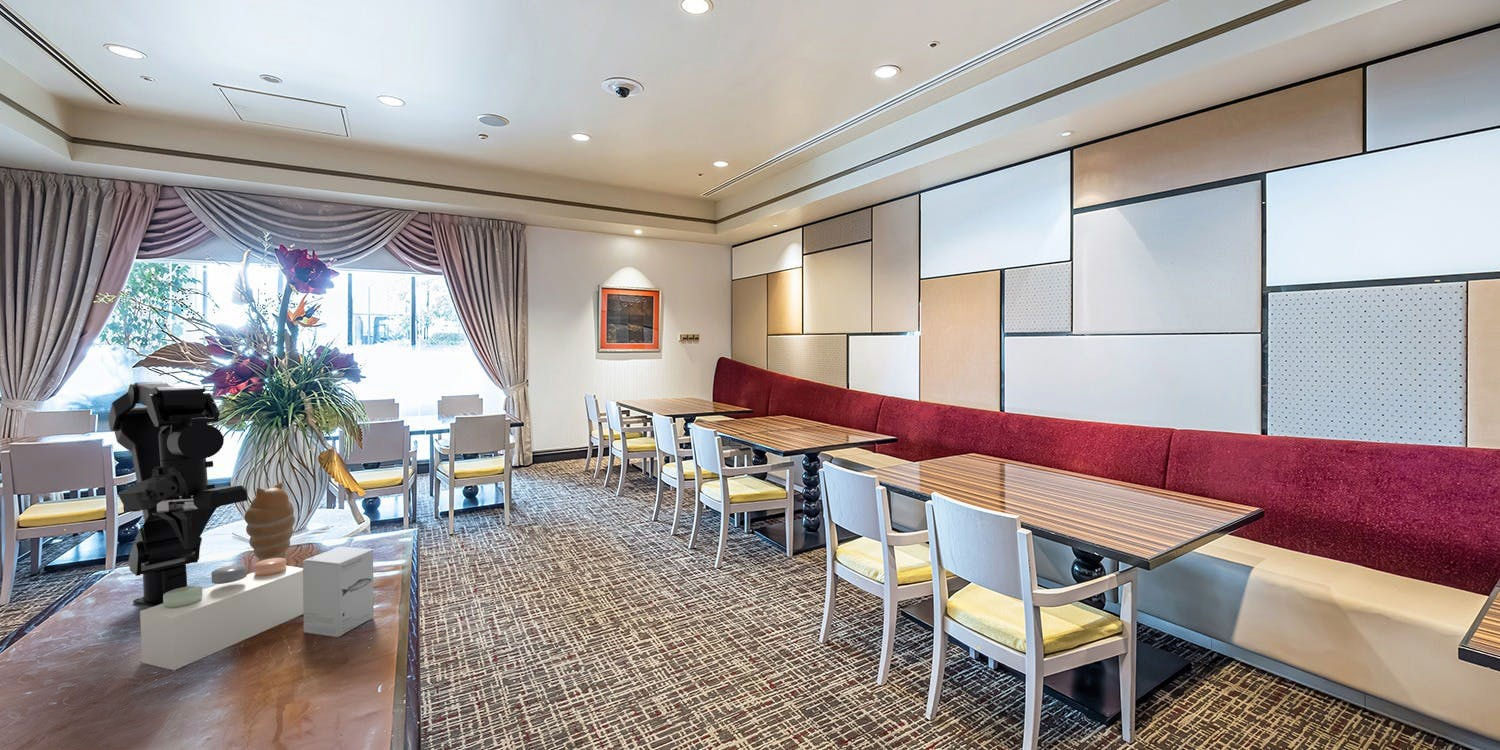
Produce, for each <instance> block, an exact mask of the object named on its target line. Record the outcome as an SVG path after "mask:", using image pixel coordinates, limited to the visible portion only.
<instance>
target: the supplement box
mask: <svg viewBox="0 0 1500 750" xmlns="http://www.w3.org/2000/svg"><path fill="white" fill-rule="evenodd" d="M302 568H303V612H304V614H303V633H306V634H311V635H319V636H327V637H334V638H339V637H341V636H342V635H345V634H346V633H347V632H349V631H352V630H353V629H355V628H357V627H358V626H360V625H362V624H364V623H366V622H368V621H370V620H372V619H373V618H374V613H375V612H374V605H375V604H374V602H375V601H374V549H372V548H371V549H370V548H361V547H347V546H337V547H335V548H333V549H331V550H327V551H325V552H321V553H319V554H317V555H314V556H311V557H308V558H307V559H303V560H302Z"/></svg>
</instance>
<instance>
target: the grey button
mask: <svg viewBox="0 0 1500 750" xmlns="http://www.w3.org/2000/svg"><path fill="white" fill-rule="evenodd" d="M247 568H248V567H247V565H246V564H232V565H228V566H227V565H226V566H221V567H220V568H216V569H214V570H212V571H211V573H210V575H211V584H214V585H215V584H216V585H218V584H224V583H231V582H235V581H238V580H241V579H243V578H245V577H246V576H247V575H248V569H247Z"/></svg>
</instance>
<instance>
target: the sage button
mask: <svg viewBox="0 0 1500 750" xmlns="http://www.w3.org/2000/svg"><path fill="white" fill-rule="evenodd" d="M202 590H203V586H201V585H187V587H181V588H177V589H174V590H171V591H168V592H166V593H165V594H164V595H163V605H164V606H165V607H178V606H184V605H188V604H191V603H194V602H197V601H199V600H200V599H202Z"/></svg>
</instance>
